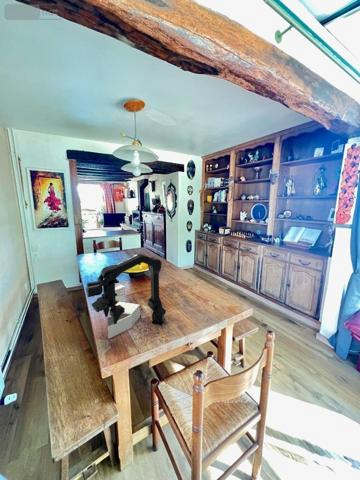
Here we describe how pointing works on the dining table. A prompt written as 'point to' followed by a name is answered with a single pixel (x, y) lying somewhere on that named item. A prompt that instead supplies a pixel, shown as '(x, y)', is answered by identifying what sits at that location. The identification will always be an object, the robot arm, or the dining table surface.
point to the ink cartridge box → (120, 292)
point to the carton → (130, 311)
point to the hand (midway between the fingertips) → (110, 320)
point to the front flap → (118, 325)
